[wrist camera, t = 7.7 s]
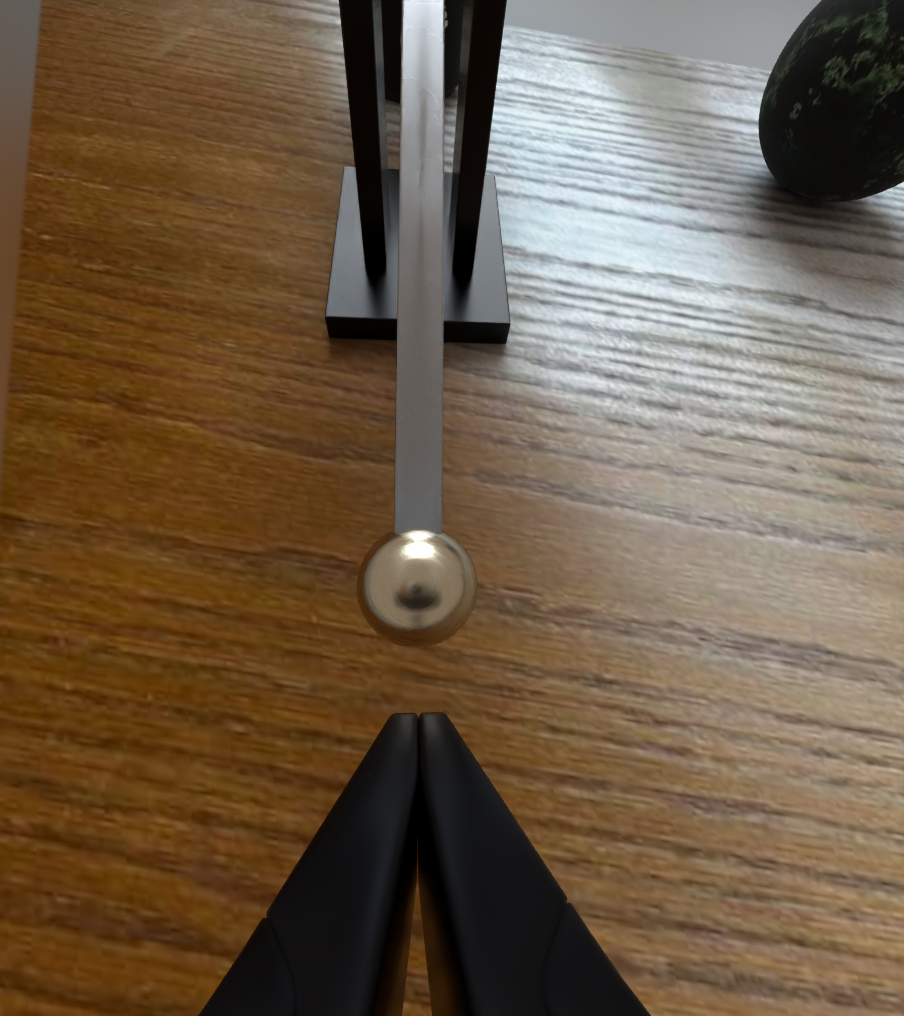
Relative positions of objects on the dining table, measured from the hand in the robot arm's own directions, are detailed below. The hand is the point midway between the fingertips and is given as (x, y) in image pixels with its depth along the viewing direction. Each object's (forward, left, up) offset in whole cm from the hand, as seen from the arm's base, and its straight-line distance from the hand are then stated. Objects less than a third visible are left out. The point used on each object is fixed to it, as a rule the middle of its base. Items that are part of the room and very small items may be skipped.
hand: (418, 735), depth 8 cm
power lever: (+10, +9, 0) cm, 13 cm away
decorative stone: (+38, +2, -8) cm, 39 cm away
